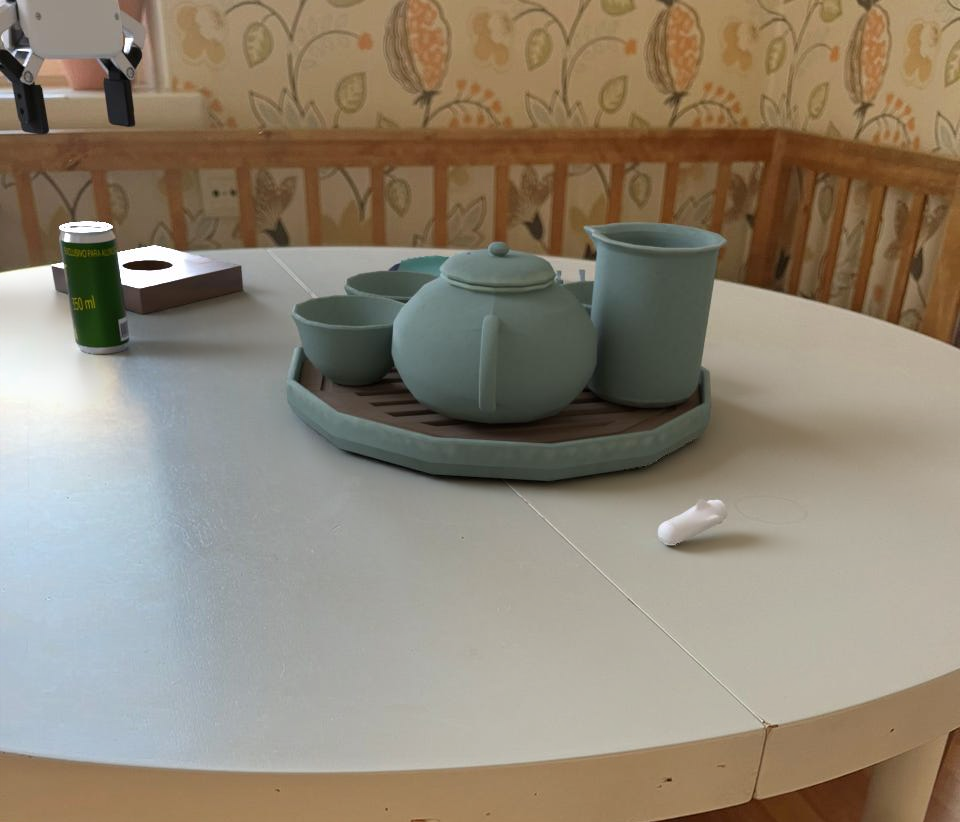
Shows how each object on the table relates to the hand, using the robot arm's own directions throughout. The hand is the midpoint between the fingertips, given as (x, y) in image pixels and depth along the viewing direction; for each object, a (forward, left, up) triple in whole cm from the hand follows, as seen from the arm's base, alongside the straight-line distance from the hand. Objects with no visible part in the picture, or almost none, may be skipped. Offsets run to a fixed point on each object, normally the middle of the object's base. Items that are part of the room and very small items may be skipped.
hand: (80, 129), depth 98 cm
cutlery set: (+16, +50, -21) cm, 56 cm away
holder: (-16, +19, -21) cm, 32 cm away
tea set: (+40, +13, -21) cm, 47 cm away
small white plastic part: (+67, -2, -21) cm, 70 cm away
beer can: (-1, 0, -21) cm, 21 cm away
